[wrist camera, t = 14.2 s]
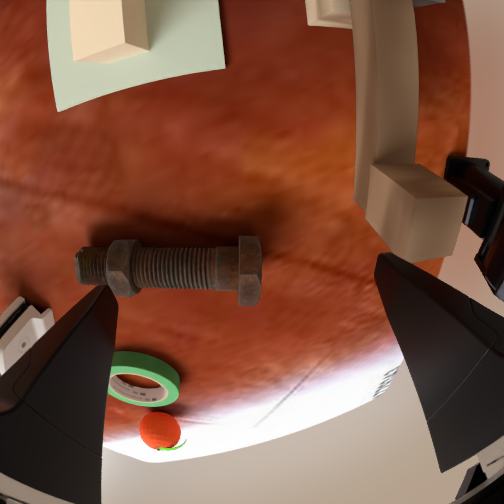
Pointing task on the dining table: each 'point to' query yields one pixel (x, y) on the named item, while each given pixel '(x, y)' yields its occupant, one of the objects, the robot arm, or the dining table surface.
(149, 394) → the tape roll
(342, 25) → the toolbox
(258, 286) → the bolt
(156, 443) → the clementine
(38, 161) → the dining table surface
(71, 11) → the lid
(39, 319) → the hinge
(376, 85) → the key
